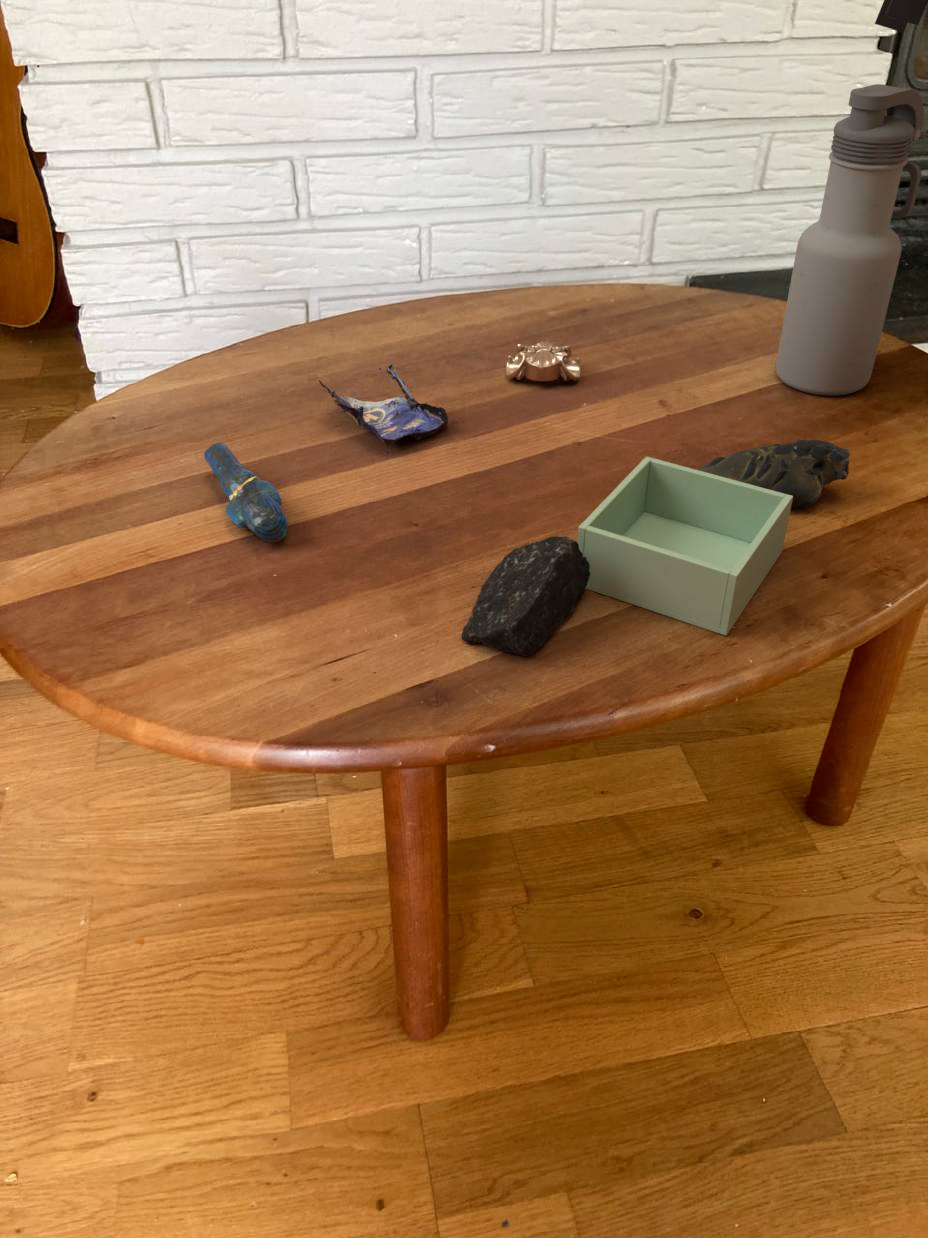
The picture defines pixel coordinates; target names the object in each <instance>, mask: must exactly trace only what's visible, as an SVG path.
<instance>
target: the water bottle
mask: <svg viewBox="0 0 928 1238" xmlns="http://www.w3.org/2000/svg"><path fill="white" fill-rule="evenodd" d="M848 106H849V107H851V108H850V112H849V116H847V117H845V118H843V119H841V120H839V121H837V122H836V123H835V125H834V127H833V136H832V141H831V146H830V149H831V151H830V152H829V155H828V159H829V161H830V163H829V168H828V173H827V177H826V178H827V179H826V183H825V188H824V192H823V193H824V195H823V199H822V203H821V209H820V214H819V219H818V220H817V221H816V222H814V223H812V224H810V225H809V226H808V227H806V229H804V230H803V231H802V233H801V234H800V236H799V239H798V242H797V245H796V252H795V256H794V261H793V268H792V273H791V277H790V283H789V288H788V295H787V299H786V305H785V311H784V317H783V321H782V327H781V333H780V338H779V342H778V350H777V355H776V360H775V372H776V374H777V376H778V379H780V381H781V382H783V383H784V384H786V385H787V386H789V387H790V388H792V389H795V390H797V391H800V392H802V393H807V394H811V395H815V396H826V397H827V396H828V397H833V396H835V397H836V396H844V395H849V394H852V393H856V392H858V391H861V390H862V389H864V388H865V387H866V386H867V385H868V384H869V382H870V380H871V378H872V373H873V369H874V365H875V361H876V356H877V353H878V349H879V345H880V341H881V336H882V332H883V328H884V323H885V320H886V316H887V312H888V307H889V303H890V299H891V296H892V295H891V294H892V291H893V287H894V283H895V279H896V275H897V270H898V266H899V263H900V259H901V254H902V248H903V247H902V246H903V245H902V243H901V239H900V237H899V235H898V234H897V232H895V230H893V229H892V228H891V226H890V225H891V220H892V218H894V219H898V220H899V219H903V218H906V217H908V216H909V215H910V214H911V213H912V212H913V210H914V207H915V203H916V200H917V199H916V198H917V196H918V190H919V186H920V183H921V178H922V170H921V168H920V166H919V165H918V164H917V163H916V162H913V161H909V160H908V156H909V155H910V152H911V151H910V150H911V148H912V143H913V142H915V143H916V142H917V141H919V138H920V137H921V133H922V129H923V123H924V115H925V114H924V113H925V108H924V102H923V98H922V95H920V93H919V92H918V91H916V90H915V89H909V88H904V87H899V86H892V85H887V84H882V83H880V84H879V83H876V84H870V85H867V86H863V87H857V88H854V89H851V90H850V94H849V100H848ZM903 169H904V170H905V171H907V172H908V174H909V176H910V183H909V187H908V192H907V197H906V199H905V204H904V206H903V207H902V208H901V209H900V210H896V209H895V204H896V199H897V195H898V191H899V187H900V182H901V178H902V174H903Z"/></svg>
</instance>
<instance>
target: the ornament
mask: <svg viewBox="0 0 928 1238" xmlns="http://www.w3.org/2000/svg"><path fill="white" fill-rule="evenodd" d="M516 347H517V349H516V353H515V354H514V356H512V355H510V354H509V355H507V358H506V359H507V360H506V366H505V367H506V368H505V376H506V377H507V379H508V380H511V379H513V378H515V379H516V380H518V381H520V380H523V379H524V377H525V378H526V379H529V380H531V381H534V382H535V381H537V382H552V381H556V380H558V379H561V380H562V381H563V382H569V381H570V380H572V381H574V382H576V381H578V380H579V379H580V378H581V358H580V357H579V356H577V357H575V358H574V356H573V352H572V345H571V344H570V345H565V346H564V345H563V346H559V345H557V346H556V345H554V343H553V342H550V341H549V340H547V341H540V342H537V343H536V344H535V345H528V346H527V344H525V345H524V344H521V343H517V344H516Z"/></svg>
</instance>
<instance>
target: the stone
mask: <svg viewBox="0 0 928 1238" xmlns="http://www.w3.org/2000/svg"><path fill="white" fill-rule="evenodd" d="M850 456H851V453H850V451H849V450H848V449H847V448H842V447H839V446H837V445H836V444H834V443H832V442H829V441H827V440H825V441H823V440H820V439H797V440H796V441H795V442H790V443H785V444H780V443H775V444H772V445H771V444H769V445H764V446H759V447H755V448H749V449H743V450H740V451H737V452H734V453H731V454H729V455H727V456H717V457H715V458H714V459H712V460H711V461H709V462H708V463H706V464H705V465H704V466H702V467H700V468H699V469H698V470H699V471H702V472H706V473H710V474H714V475H717V476H721V477H725V478H728V479H732V480H736V481H739V482H743V483H747V484H751V485H754V486H758V487H762V488H765V489H769V490H773V491H776V492H780V493H784V494H788V495H791V496H793V500H792V505H791V509H797V508H805V507H809V506H811V505H813V504H815V503H816V502H817V501H818V499H819V498H820V496H821V495H822V491H823V489H824V488H825V487H827V485H829V484H831V483H832V482H835V481H839V480H842V481H843V480H847V479H848V476H849V474H850V472H849V469H850V467H849V466H850Z"/></svg>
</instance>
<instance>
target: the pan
mask: <svg viewBox="0 0 928 1238" xmlns="http://www.w3.org/2000/svg"><path fill="white" fill-rule="evenodd" d="M792 500H793V496H791V495H788V494H784V493H780V492H776V491H773V490H769V489H765V488H762V487H758V486H754V485H751V484H747V483H743V482H739V481H736V480H732V479H728V478H725V477H721V476H717V475H714V474H710V473H706V472H702V471H699V469H694V468H692V467H688V466H684V465H680V464H677V463H672V462H669V461H665V460H662V459H657V458H655V457H650V456H645V457H644V458H643V459H642V460H641V461H640V462H639V464H637V466H635V468H634V469H632V471H630V473H628V474H627V476H626V477H625V478H624V479H622V481H621V482H620V483H619V484H618V485H617V486H616V487H615V488H614V489H613V491H612V492H610V494H609V495H608V496H606V497H605V499H604V500H602V502H601V503H599V505H598V506H597V507H596V508H595V509H594V510H593V511H592V512H591V513H590V514H589V515H588V517H586V519H584V521H582V523H581V524H579V526H578V530H577V543H578V545H579V549H580V551H581V552H582V555H583V557H586V560H587V561H588V562H589V565H590V568H589V572H590V576H589V580H588V583H587V586H586V588H585V590H589V591H592V592H595V593H597V594H601V595H603V596H605V597H606V596H607V597H610V598H612V599H616V600H619V601H622V602H625V603H627V604H630V605H633V606H636V607H638V608H639V607H640V608H642V609H645V610H648V611H650V612H654V613H657V614H660V615H663V616H665V617H669V618H671V619H675V620H677V621H681V622H683V623H687V624H690V625H692V626H696V627H698V628H702V629H705V630H708V631H711V632H713V633H715V634H719V635H723V636H725V637H726V636H728V634H729V633H730V631H731V630H732V628H733V627H734V625H735V624H736V622H737V621H738V619H739V618H740V617H741V615H742V613H743V612H744V610H745V609H746V608H747V606H748V604H749V602H750V601H751V600H752V598H753V596H754V595H755V594H756V592H757V590H758V589H759V587H761V585H762V583H763V581H764V580H765V579H766V577H767V575H768V574H769V572H770V571H771V569H772V568H773V566H774V565H775V564H776V562H777V560H778V559H779V558H780V555H781V554H782V552H783V547H784V543H785V537H786V532H787V527H788V523H789V518H790V514H791V510H792V508H791V505H792Z"/></svg>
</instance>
